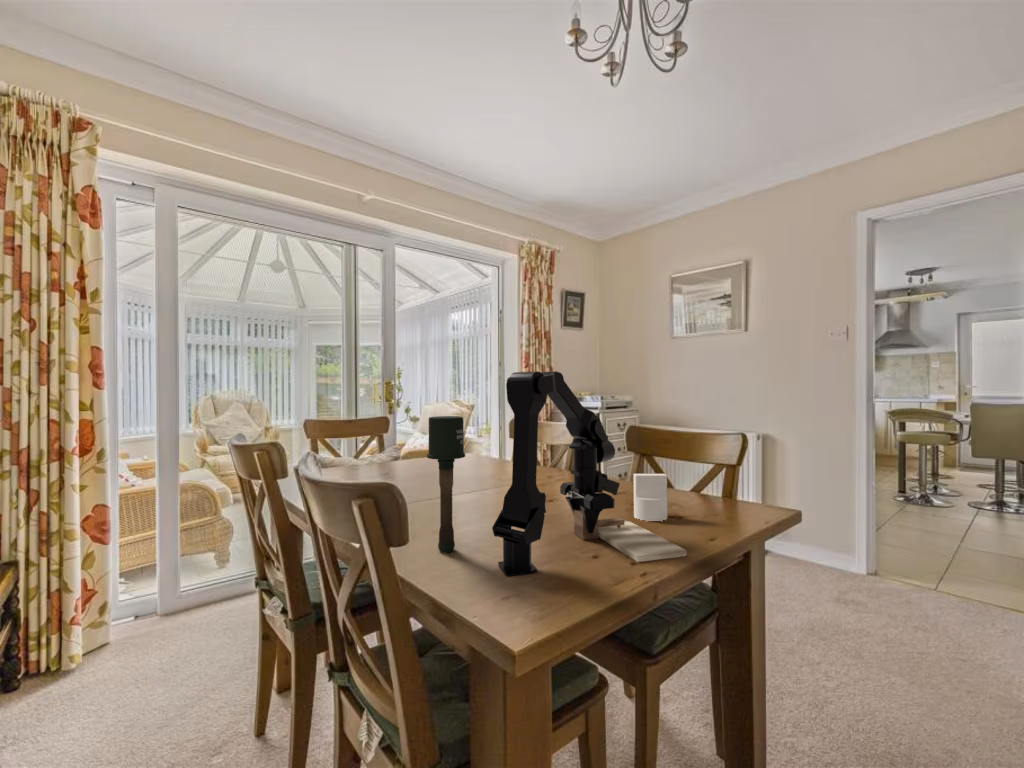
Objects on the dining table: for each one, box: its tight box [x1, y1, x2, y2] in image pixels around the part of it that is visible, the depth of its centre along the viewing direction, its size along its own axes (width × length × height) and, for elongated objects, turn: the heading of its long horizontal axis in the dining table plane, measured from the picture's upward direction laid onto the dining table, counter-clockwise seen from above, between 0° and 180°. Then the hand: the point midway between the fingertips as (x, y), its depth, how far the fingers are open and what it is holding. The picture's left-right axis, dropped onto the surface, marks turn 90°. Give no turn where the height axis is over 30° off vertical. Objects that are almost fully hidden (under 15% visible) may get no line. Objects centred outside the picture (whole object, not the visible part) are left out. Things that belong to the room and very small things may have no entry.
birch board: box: [598, 520, 688, 563], centre depth 111 cm, size 24×12×1 cm, turn 17°
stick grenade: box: [426, 415, 466, 553], centre depth 105 cm, size 8×9×30 cm
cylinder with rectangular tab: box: [633, 473, 668, 522], centre depth 131 cm, size 9×9×12 cm
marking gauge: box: [573, 509, 625, 541], centre depth 116 cm, size 12×5×6 cm, turn 107°
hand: (585, 529), depth 115 cm, fingers closed on marking gauge, 5 cm apart
